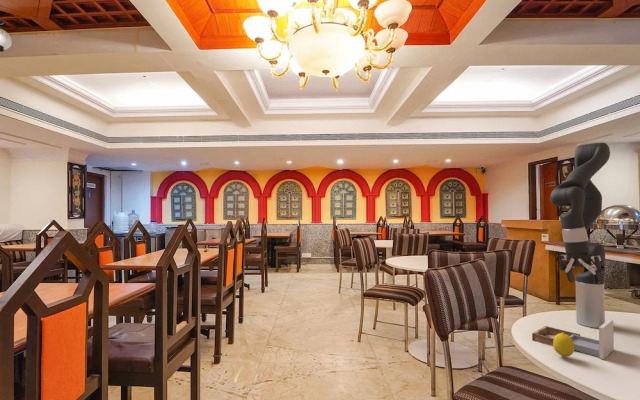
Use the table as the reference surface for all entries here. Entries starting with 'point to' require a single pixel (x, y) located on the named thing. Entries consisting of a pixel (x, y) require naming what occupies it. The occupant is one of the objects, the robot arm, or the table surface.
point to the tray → (596, 341)
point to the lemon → (563, 345)
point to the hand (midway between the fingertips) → (584, 283)
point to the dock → (547, 340)
